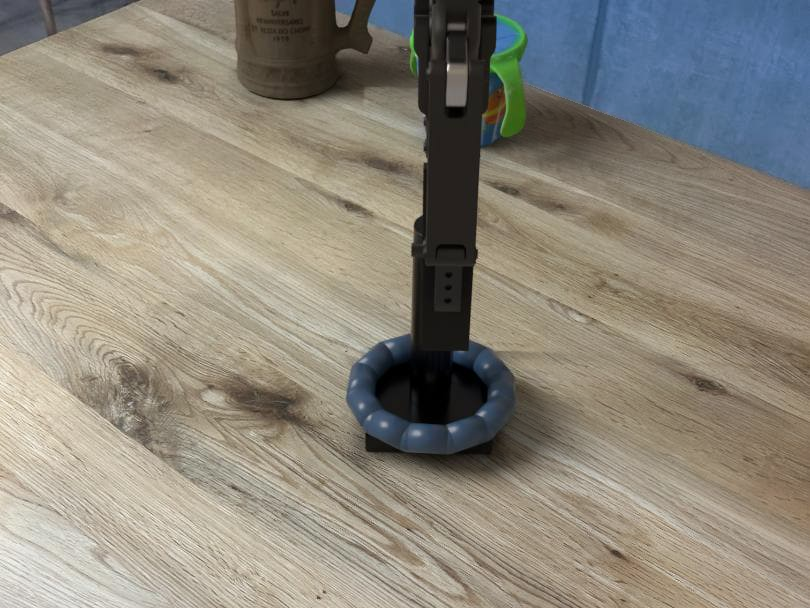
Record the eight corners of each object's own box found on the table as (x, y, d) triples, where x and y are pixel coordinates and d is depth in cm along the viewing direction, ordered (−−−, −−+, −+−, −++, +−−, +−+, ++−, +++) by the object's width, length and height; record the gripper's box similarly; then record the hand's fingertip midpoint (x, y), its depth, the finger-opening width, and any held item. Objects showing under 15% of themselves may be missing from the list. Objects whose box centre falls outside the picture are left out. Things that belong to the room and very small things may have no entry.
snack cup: (379, 113, 107) (379, 9, 99) (469, 92, 110) (476, -10, 102) (454, 188, 98) (460, 80, 90) (550, 162, 101) (564, 56, 93)
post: (488, 372, 80) (506, 188, 69) (491, 455, 75) (512, 269, 63) (370, 369, 81) (369, 185, 69) (365, 451, 75) (362, 265, 63)
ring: (514, 352, 80) (516, 331, 78) (514, 464, 72) (517, 443, 70) (356, 343, 80) (355, 322, 79) (339, 454, 72) (338, 432, 71)
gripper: (380, -199, 53) (386, 210, 70) (364, -49, 39) (375, 416, 56) (530, -198, 53) (499, 212, 70) (566, -47, 39) (516, 418, 56)
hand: (444, 302), depth 63 cm, fingers open, 8 cm apart
